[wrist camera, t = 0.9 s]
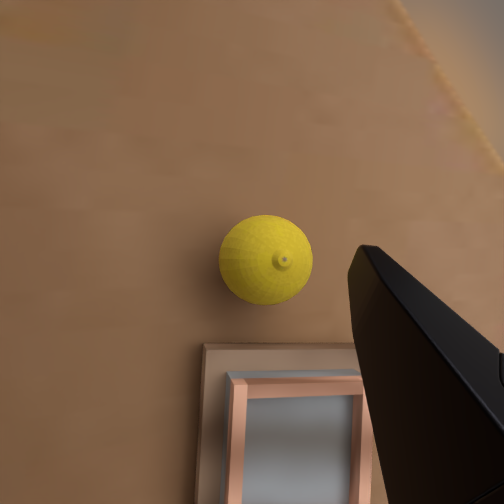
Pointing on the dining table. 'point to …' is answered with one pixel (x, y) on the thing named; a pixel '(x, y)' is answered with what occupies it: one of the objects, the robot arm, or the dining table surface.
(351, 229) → the dining table surface
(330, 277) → the dining table surface
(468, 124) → the dining table surface
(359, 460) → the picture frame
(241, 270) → the lemon
